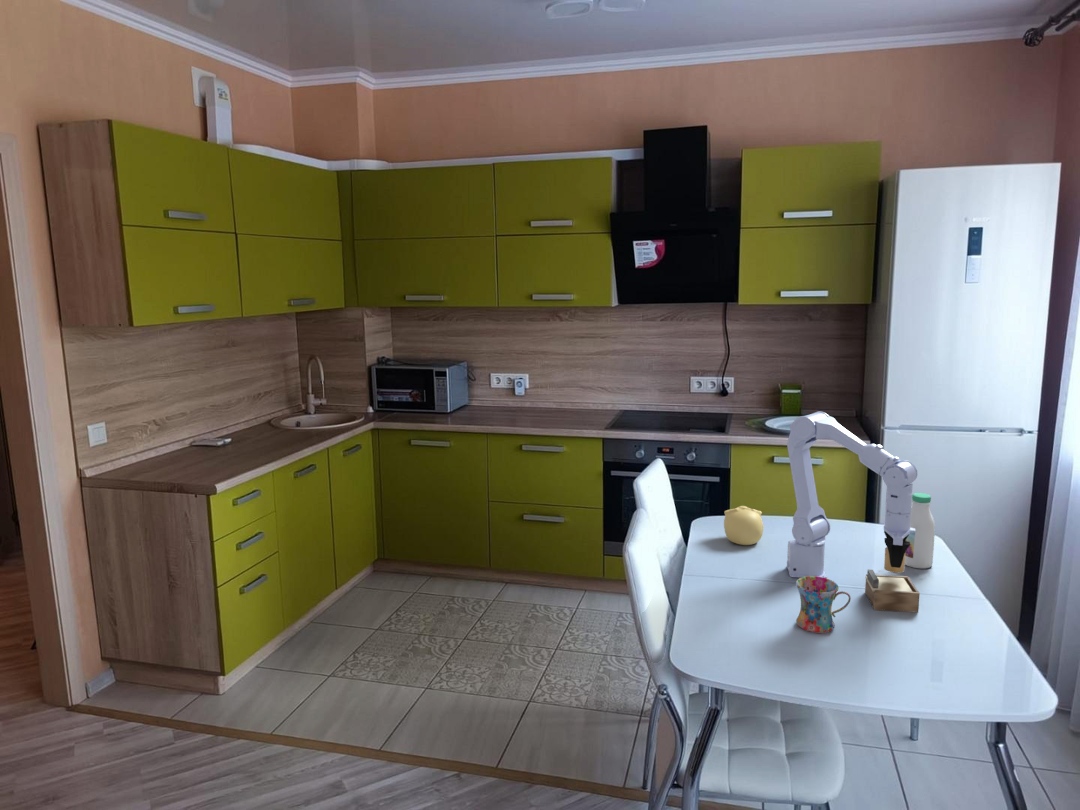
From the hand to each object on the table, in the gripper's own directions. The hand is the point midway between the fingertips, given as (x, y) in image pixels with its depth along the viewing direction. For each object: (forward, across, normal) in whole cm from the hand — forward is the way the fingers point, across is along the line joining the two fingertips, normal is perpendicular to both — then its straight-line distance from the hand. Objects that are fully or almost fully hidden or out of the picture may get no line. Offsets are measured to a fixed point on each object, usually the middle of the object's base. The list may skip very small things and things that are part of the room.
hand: (895, 563), depth 190 cm
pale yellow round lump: (+10, +28, +41) cm, 51 cm away
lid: (+5, -2, +1) cm, 6 cm away
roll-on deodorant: (+2, 0, 0) cm, 2 cm away
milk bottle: (+10, +26, -7) cm, 29 cm away
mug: (+10, -22, +16) cm, 28 cm away
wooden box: (+10, -2, +1) cm, 10 cm away
